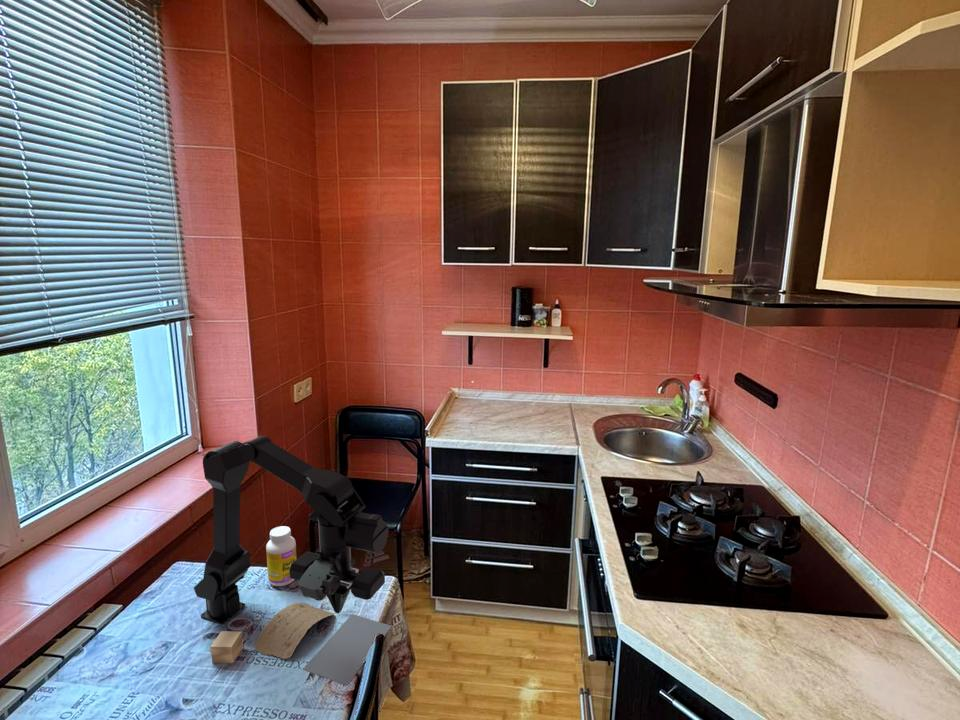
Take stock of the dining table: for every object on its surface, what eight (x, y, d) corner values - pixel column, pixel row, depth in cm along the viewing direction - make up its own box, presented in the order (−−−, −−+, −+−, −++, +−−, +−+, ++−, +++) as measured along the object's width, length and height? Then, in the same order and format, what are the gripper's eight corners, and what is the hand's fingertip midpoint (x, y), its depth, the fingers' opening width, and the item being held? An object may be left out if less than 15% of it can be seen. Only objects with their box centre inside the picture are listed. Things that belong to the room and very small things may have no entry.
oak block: (212, 664, 94) (210, 646, 94) (223, 648, 98) (221, 631, 97) (233, 665, 94) (231, 647, 94) (243, 648, 98) (241, 631, 97)
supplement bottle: (283, 590, 115) (279, 541, 113) (262, 583, 118) (258, 534, 116) (303, 574, 122) (300, 527, 119) (283, 567, 124) (280, 521, 122)
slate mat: (302, 670, 93) (302, 669, 93) (352, 615, 108) (352, 613, 108) (347, 686, 90) (346, 685, 90) (391, 627, 104) (391, 625, 104)
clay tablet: (289, 662, 95) (288, 650, 94) (250, 647, 98) (249, 635, 98) (337, 614, 108) (336, 603, 107) (301, 602, 111) (300, 592, 111)
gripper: (265, 553, 90) (271, 627, 93) (351, 576, 84) (354, 654, 87) (306, 523, 100) (310, 591, 103) (385, 542, 94) (387, 613, 97)
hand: (338, 611), depth 97 cm, fingers closed
